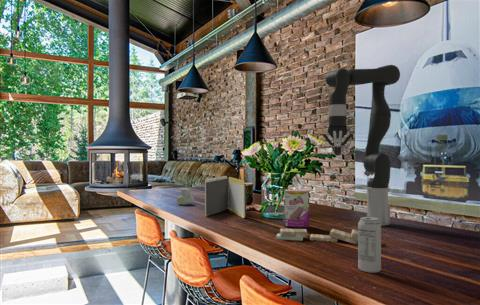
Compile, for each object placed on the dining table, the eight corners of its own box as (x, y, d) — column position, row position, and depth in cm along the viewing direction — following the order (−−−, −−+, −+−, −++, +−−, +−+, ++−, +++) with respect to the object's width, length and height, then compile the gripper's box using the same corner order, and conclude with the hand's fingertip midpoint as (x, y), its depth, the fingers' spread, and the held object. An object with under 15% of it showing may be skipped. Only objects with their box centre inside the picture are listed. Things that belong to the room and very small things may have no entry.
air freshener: (196, 204, 235) (196, 188, 235) (188, 205, 228) (187, 189, 228) (183, 203, 241) (183, 187, 241) (174, 204, 233) (174, 189, 234)
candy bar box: (283, 227, 162) (283, 190, 162) (283, 225, 167) (283, 189, 167) (309, 228, 161) (309, 190, 161) (308, 225, 166) (308, 189, 166)
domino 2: (306, 229, 142) (280, 228, 143) (307, 231, 137) (280, 231, 138) (306, 234, 142) (280, 233, 143) (307, 237, 137) (280, 236, 138)
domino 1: (302, 242, 137) (276, 241, 139) (303, 239, 142) (277, 238, 144) (302, 237, 137) (276, 236, 139) (303, 234, 142) (277, 233, 144)
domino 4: (359, 236, 137) (332, 228, 141) (358, 239, 132) (330, 231, 136) (358, 241, 137) (331, 233, 141) (356, 244, 132) (329, 236, 136)
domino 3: (337, 235, 140) (311, 234, 143) (337, 238, 135) (309, 236, 138) (337, 241, 140) (311, 239, 143) (337, 244, 135) (309, 242, 138)
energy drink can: (385, 272, 101) (385, 218, 101) (372, 277, 98) (372, 221, 98) (366, 267, 106) (366, 215, 106) (353, 271, 103) (353, 217, 103)
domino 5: (380, 237, 134) (352, 229, 137) (381, 241, 129) (352, 232, 132) (378, 242, 134) (351, 234, 137) (379, 246, 129) (351, 237, 132)
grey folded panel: (251, 218, 186) (251, 179, 186) (209, 220, 179) (209, 180, 179) (231, 208, 219) (231, 175, 219) (195, 209, 212) (195, 176, 212)
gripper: (352, 116, 161) (352, 155, 161) (322, 116, 165) (322, 155, 165) (353, 114, 154) (353, 155, 154) (321, 115, 157) (321, 155, 157)
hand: (337, 155), depth 159 cm, fingers closed
